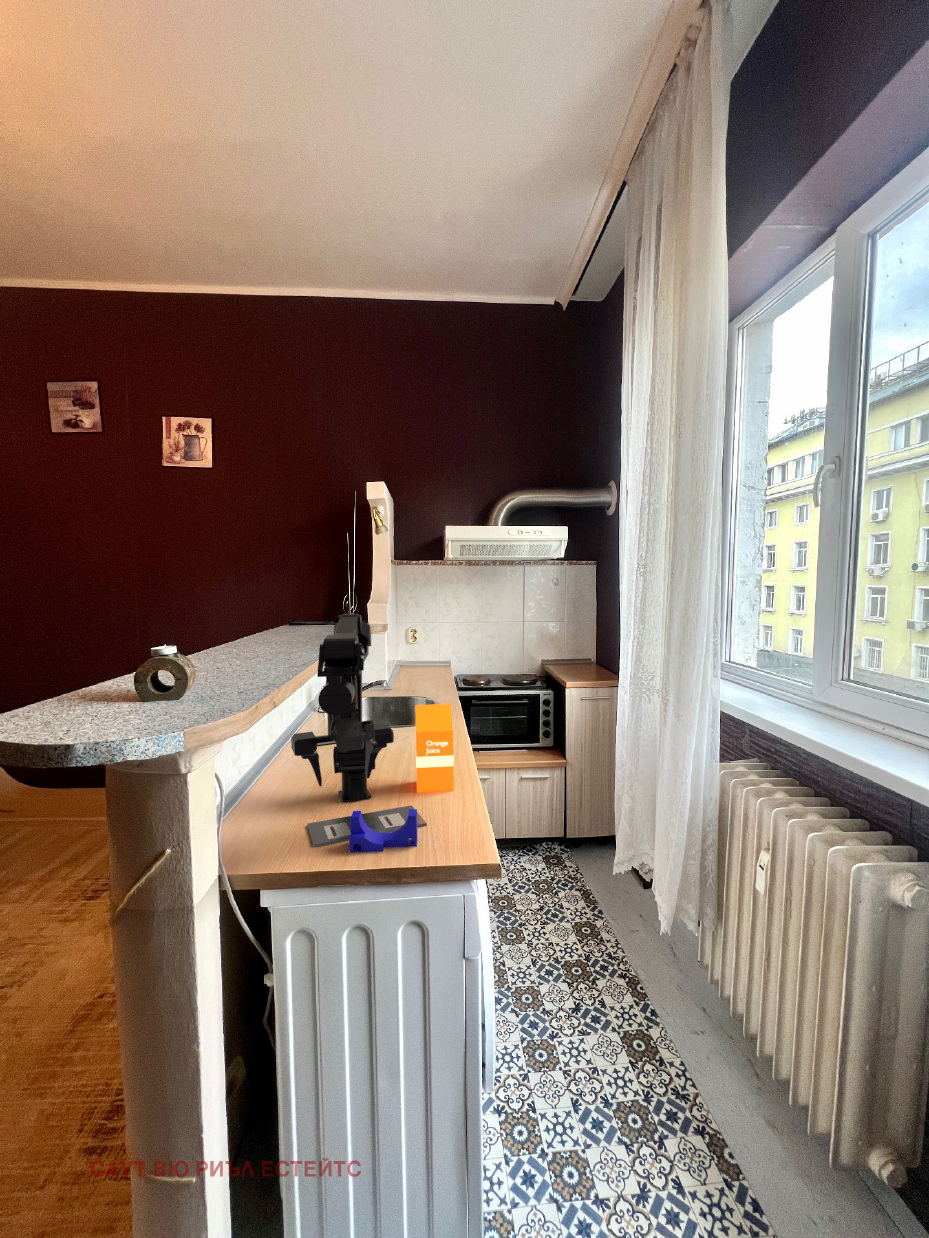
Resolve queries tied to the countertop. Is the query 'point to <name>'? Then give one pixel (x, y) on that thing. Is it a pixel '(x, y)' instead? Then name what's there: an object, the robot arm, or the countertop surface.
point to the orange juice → (434, 748)
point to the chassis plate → (376, 821)
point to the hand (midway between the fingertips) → (344, 781)
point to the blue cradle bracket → (381, 835)
